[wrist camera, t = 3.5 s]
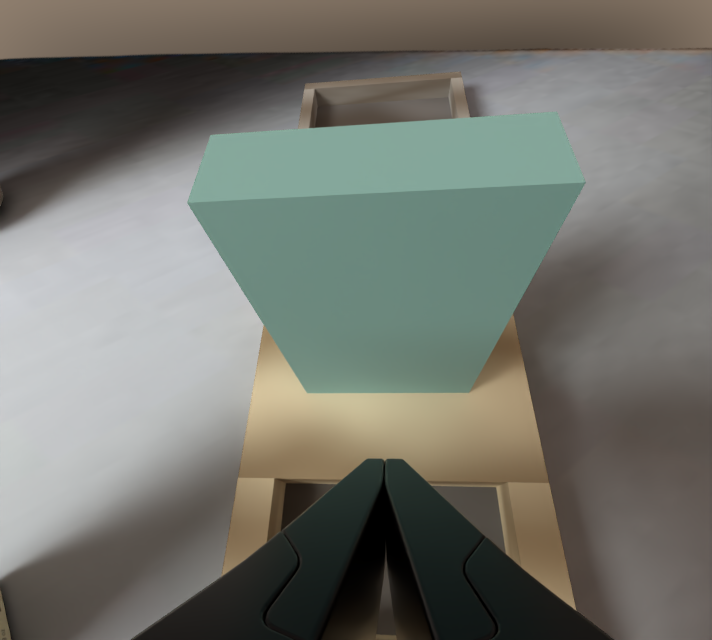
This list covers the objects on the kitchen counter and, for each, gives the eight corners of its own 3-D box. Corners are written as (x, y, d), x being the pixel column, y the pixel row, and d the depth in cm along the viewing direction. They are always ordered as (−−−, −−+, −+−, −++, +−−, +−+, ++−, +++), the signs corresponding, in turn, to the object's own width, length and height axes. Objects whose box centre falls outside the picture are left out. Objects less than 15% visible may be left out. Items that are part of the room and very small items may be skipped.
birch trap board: (584, 767, 12) (618, 809, 10) (216, 737, 13) (188, 770, 11) (457, 95, 30) (461, 68, 28) (309, 106, 31) (304, 81, 29)
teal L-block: (469, 392, 16) (585, 182, 6) (307, 393, 16) (187, 203, 7) (445, 206, 21) (487, -59, 12) (324, 212, 22) (270, -35, 12)
